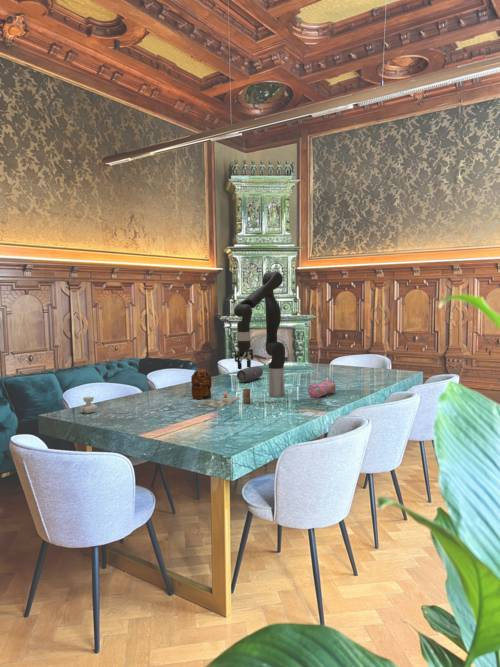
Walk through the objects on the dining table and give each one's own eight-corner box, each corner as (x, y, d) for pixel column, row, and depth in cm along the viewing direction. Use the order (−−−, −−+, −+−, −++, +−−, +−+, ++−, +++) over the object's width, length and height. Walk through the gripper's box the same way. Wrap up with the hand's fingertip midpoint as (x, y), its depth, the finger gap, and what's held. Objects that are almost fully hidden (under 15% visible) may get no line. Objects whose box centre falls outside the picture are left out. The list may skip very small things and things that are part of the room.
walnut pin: (246, 402, 261) (245, 388, 260) (251, 403, 258) (251, 389, 258) (241, 403, 258) (241, 389, 257) (247, 404, 255) (247, 390, 255)
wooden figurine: (195, 400, 268) (194, 370, 266) (191, 398, 273) (190, 369, 272) (213, 398, 274) (212, 368, 273) (208, 396, 279) (207, 367, 278)
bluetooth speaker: (247, 384, 318) (246, 369, 318) (236, 382, 323) (235, 369, 323) (263, 379, 337) (263, 365, 336) (253, 378, 342) (253, 364, 342)
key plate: (229, 397, 274) (229, 390, 273) (239, 399, 269) (239, 391, 269) (220, 400, 267) (220, 392, 267) (231, 401, 262) (230, 394, 262)
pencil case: (324, 392, 286) (324, 377, 285) (337, 393, 280) (337, 379, 280) (306, 398, 269) (306, 383, 269) (320, 399, 264) (319, 384, 263)
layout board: (215, 400, 267) (215, 398, 267) (234, 403, 258) (234, 400, 258) (199, 405, 256) (199, 402, 256) (218, 408, 247) (218, 405, 247)
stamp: (93, 410, 249) (93, 394, 248) (99, 411, 244) (99, 396, 244) (78, 413, 243) (77, 397, 242) (83, 415, 238) (83, 399, 237)
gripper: (241, 341, 247) (242, 370, 248) (256, 339, 259) (257, 367, 260) (230, 340, 252) (231, 369, 253) (245, 338, 263) (246, 366, 264)
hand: (244, 368), depth 256 cm, fingers open, 8 cm apart
